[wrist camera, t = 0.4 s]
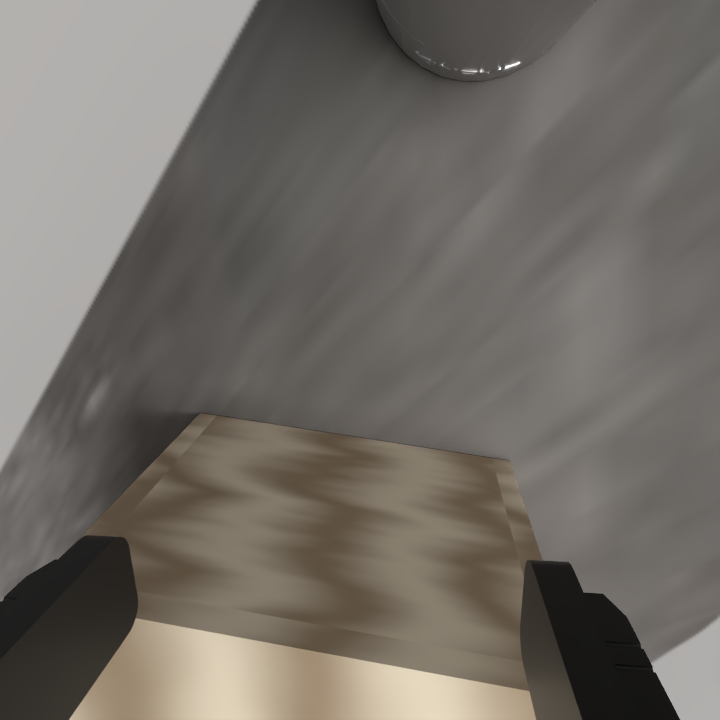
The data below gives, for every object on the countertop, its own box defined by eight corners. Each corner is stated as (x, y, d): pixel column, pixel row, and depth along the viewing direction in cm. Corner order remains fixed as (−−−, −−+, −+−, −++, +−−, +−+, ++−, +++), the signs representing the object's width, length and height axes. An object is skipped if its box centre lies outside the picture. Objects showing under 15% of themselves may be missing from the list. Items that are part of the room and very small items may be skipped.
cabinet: (199, 597, 34) (61, 855, 21) (200, 413, 29) (22, 597, 16) (464, 645, 33) (494, 952, 20) (509, 460, 28) (588, 702, 15)
